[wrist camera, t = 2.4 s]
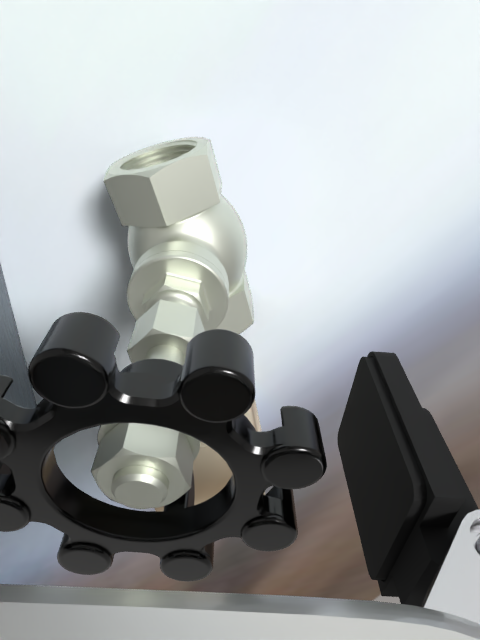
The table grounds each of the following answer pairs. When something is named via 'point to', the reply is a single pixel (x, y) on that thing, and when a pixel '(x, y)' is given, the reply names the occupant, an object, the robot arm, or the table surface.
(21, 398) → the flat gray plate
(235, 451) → the valve
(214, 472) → the pale wood block
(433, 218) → the table surface
